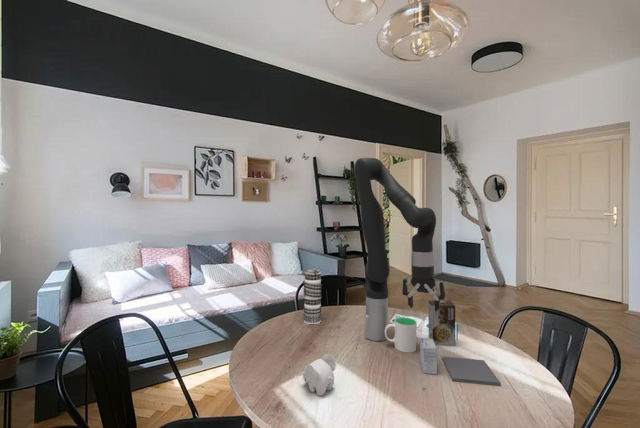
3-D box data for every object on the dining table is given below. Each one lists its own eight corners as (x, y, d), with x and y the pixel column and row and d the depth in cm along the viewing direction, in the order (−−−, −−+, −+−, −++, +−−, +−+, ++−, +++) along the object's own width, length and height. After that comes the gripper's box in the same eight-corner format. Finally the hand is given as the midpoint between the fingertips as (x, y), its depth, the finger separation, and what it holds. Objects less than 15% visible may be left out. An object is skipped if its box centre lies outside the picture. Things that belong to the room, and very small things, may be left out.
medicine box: (437, 375, 98) (437, 348, 98) (422, 373, 99) (423, 347, 99) (433, 362, 106) (433, 338, 106) (419, 361, 107) (420, 337, 107)
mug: (386, 351, 114) (386, 324, 114) (383, 342, 122) (383, 316, 122) (418, 352, 113) (418, 325, 113) (413, 343, 121) (413, 317, 121)
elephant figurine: (313, 374, 98) (313, 347, 98) (343, 388, 91) (343, 358, 91) (292, 387, 91) (292, 358, 91) (323, 403, 83) (323, 372, 83)
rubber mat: (452, 381, 95) (452, 378, 95) (442, 359, 108) (442, 356, 108) (500, 385, 92) (500, 382, 92) (483, 362, 106) (483, 360, 106)
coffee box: (450, 339, 125) (450, 300, 125) (455, 346, 119) (456, 305, 119) (427, 338, 126) (428, 299, 126) (431, 344, 120) (432, 304, 120)
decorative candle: (299, 319, 146) (300, 268, 146) (317, 316, 150) (317, 266, 150) (307, 326, 138) (307, 271, 138) (325, 323, 142) (325, 270, 141)
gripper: (399, 264, 108) (401, 309, 108) (442, 267, 101) (443, 315, 101) (404, 260, 114) (406, 303, 114) (445, 263, 107) (446, 308, 108)
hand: (423, 308), depth 108 cm, fingers open, 8 cm apart
